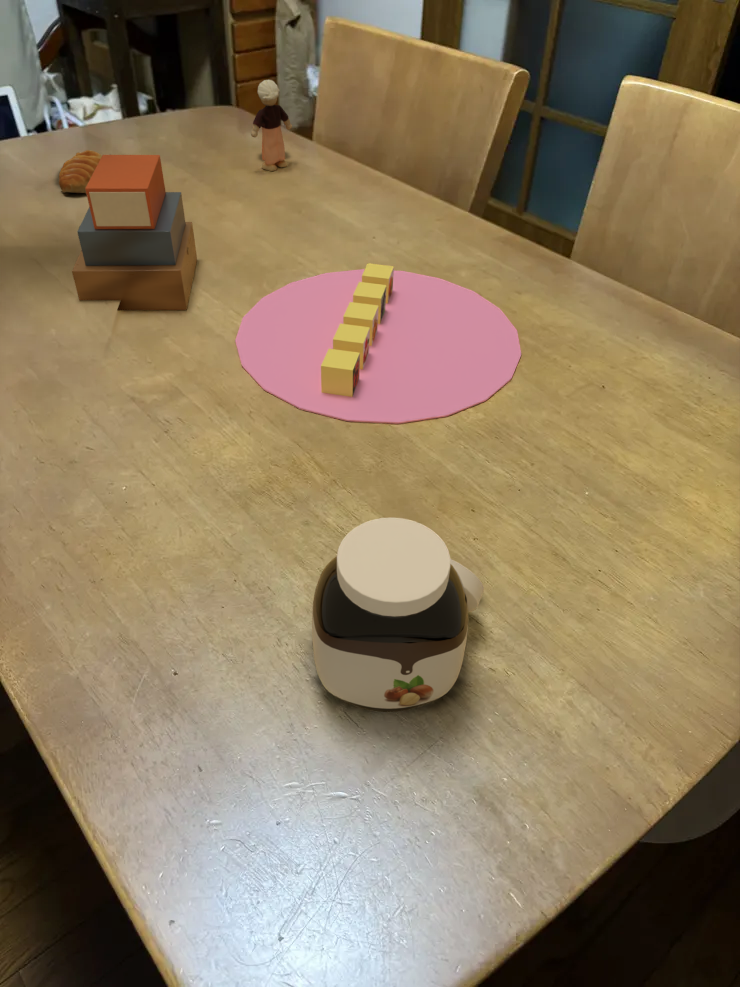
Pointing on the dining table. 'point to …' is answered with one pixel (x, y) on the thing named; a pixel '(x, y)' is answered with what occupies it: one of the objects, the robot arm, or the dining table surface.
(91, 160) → the pastry
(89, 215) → the box stack
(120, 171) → the orange box
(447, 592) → the spread jar
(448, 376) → the platter
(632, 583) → the dining table surface
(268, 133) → the grandmother figurine
